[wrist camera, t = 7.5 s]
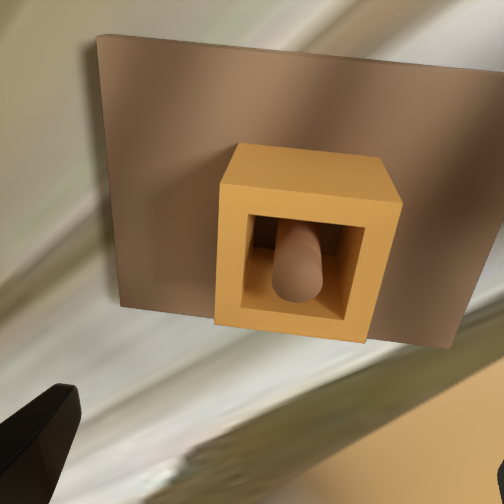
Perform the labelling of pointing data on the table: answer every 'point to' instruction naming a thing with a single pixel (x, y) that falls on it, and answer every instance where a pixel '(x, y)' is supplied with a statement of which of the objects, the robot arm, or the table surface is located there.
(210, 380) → the table surface
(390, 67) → the peg board
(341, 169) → the orange square block
